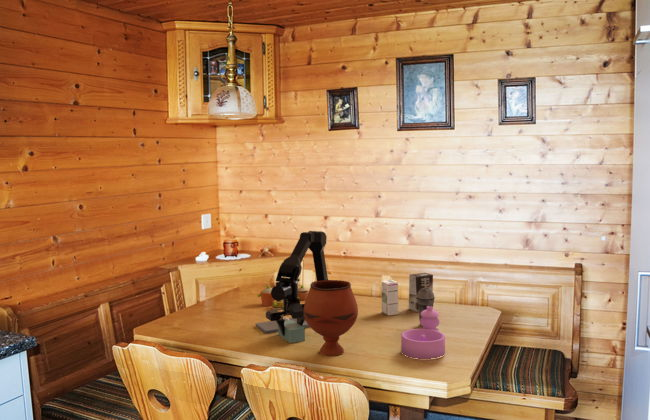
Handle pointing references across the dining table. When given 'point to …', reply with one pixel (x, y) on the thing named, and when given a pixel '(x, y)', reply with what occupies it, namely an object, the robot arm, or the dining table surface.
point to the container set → (424, 338)
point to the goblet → (330, 312)
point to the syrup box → (390, 297)
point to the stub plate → (274, 325)
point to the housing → (292, 332)
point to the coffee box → (418, 287)
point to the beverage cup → (425, 299)
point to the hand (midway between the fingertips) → (291, 334)
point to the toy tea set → (278, 305)
